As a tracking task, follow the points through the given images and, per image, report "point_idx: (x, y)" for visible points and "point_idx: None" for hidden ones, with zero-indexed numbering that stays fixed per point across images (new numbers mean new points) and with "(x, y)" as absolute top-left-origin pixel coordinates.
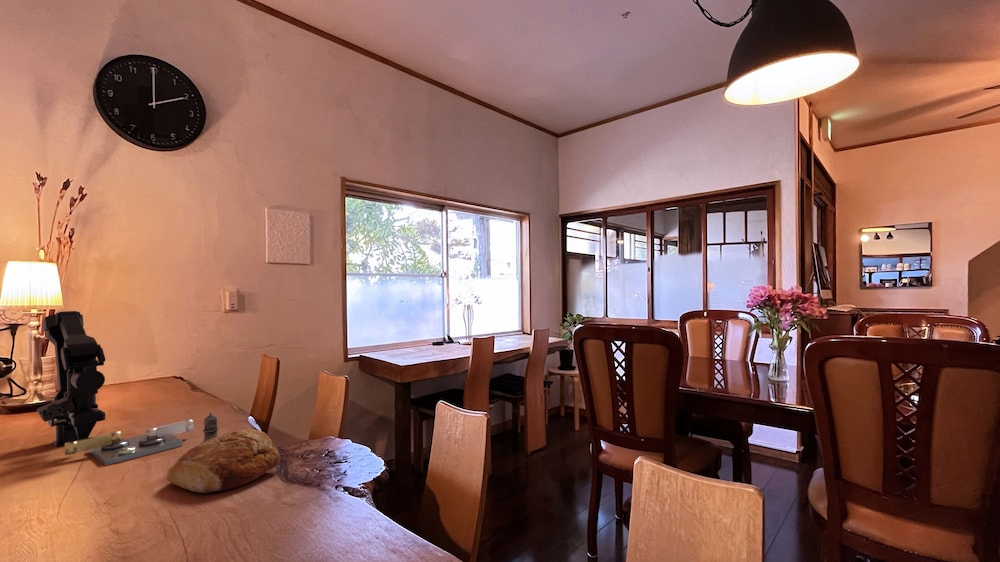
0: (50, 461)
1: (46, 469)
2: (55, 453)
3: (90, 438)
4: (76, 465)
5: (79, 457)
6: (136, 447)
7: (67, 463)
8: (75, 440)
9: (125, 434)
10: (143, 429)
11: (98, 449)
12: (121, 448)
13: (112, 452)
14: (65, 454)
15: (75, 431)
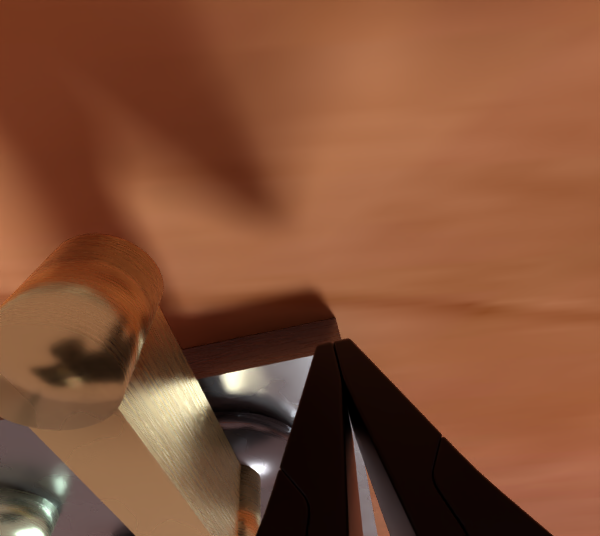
0: (310, 64)
1: (4, 48)
2: (583, 88)
3: (112, 503)
4: (10, 271)
5: (249, 272)
6: (98, 530)
7: (119, 209)
8: (114, 411)
9: (579, 431)
10: (581, 478)
11: (210, 399)
12: (16, 523)
13: (57, 463)
14: (66, 242)
15: (441, 443)
